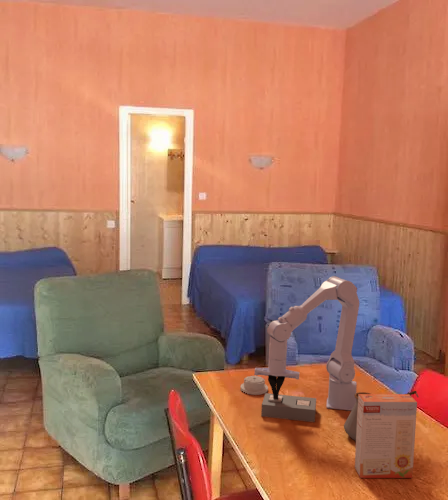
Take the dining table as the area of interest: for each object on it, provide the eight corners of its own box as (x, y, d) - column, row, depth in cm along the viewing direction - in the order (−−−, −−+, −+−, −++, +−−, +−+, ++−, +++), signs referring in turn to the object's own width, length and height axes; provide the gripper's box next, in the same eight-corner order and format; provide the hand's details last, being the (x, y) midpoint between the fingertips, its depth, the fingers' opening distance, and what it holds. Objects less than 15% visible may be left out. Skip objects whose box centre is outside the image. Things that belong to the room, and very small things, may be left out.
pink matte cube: (309, 411, 187) (309, 401, 187) (308, 416, 183) (309, 405, 183) (297, 410, 188) (297, 399, 188) (296, 415, 184) (296, 404, 184)
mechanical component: (240, 395, 201) (268, 396, 201) (240, 383, 201) (269, 384, 201) (240, 384, 211) (267, 385, 211) (240, 373, 211) (267, 374, 210)
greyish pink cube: (282, 406, 189) (282, 396, 188) (280, 411, 185) (281, 400, 185) (270, 405, 190) (270, 394, 189) (268, 410, 186) (269, 399, 185)
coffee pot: (347, 445, 165) (350, 395, 163) (340, 428, 176) (342, 381, 174) (421, 448, 165) (425, 398, 163) (409, 430, 176) (412, 384, 174)
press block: (315, 409, 190) (316, 398, 189) (314, 422, 180) (315, 410, 180) (265, 404, 193) (265, 393, 193) (261, 416, 183) (261, 404, 183)
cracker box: (404, 467, 153) (410, 393, 150) (412, 479, 147) (418, 402, 144) (353, 467, 153) (357, 392, 150) (359, 478, 147) (364, 401, 144)
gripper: (300, 356, 188) (298, 395, 189) (257, 352, 190) (255, 391, 192) (299, 362, 181) (297, 403, 182) (254, 358, 184) (252, 398, 185)
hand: (275, 397), depth 187 cm, fingers closed, pressing on greyish pink cube
